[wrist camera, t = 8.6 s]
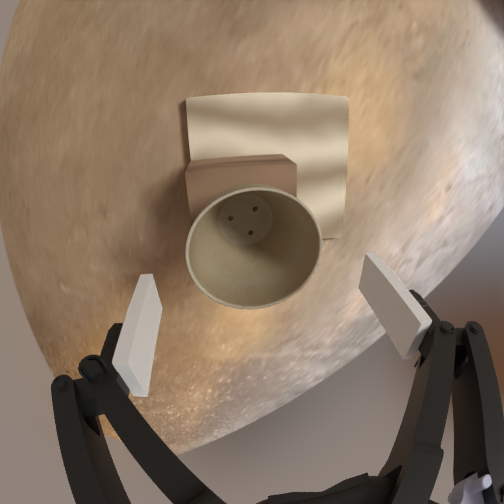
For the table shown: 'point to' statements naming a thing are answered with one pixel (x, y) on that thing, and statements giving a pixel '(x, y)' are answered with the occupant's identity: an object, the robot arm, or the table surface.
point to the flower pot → (253, 247)
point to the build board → (281, 141)
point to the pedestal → (236, 177)
